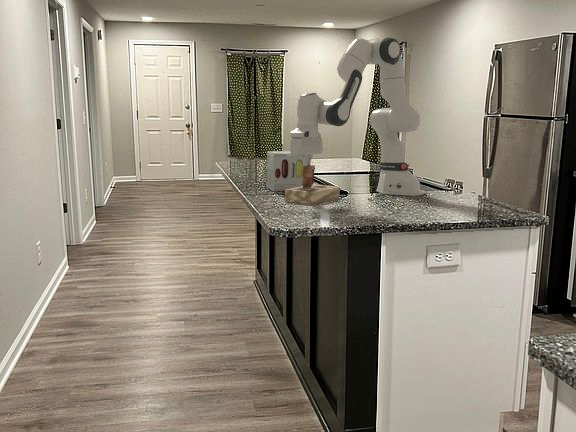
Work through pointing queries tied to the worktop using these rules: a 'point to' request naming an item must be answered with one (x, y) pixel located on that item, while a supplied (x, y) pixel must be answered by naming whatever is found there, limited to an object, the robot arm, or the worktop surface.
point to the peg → (306, 177)
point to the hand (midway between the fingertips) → (306, 165)
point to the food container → (313, 173)
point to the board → (312, 194)
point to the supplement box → (283, 170)
